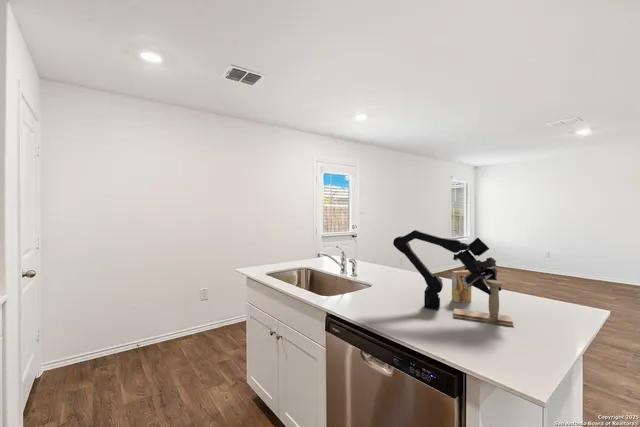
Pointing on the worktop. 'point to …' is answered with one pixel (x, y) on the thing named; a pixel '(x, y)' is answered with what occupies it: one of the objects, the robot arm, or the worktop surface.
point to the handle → (494, 297)
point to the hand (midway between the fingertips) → (495, 292)
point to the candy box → (460, 286)
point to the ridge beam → (482, 317)
